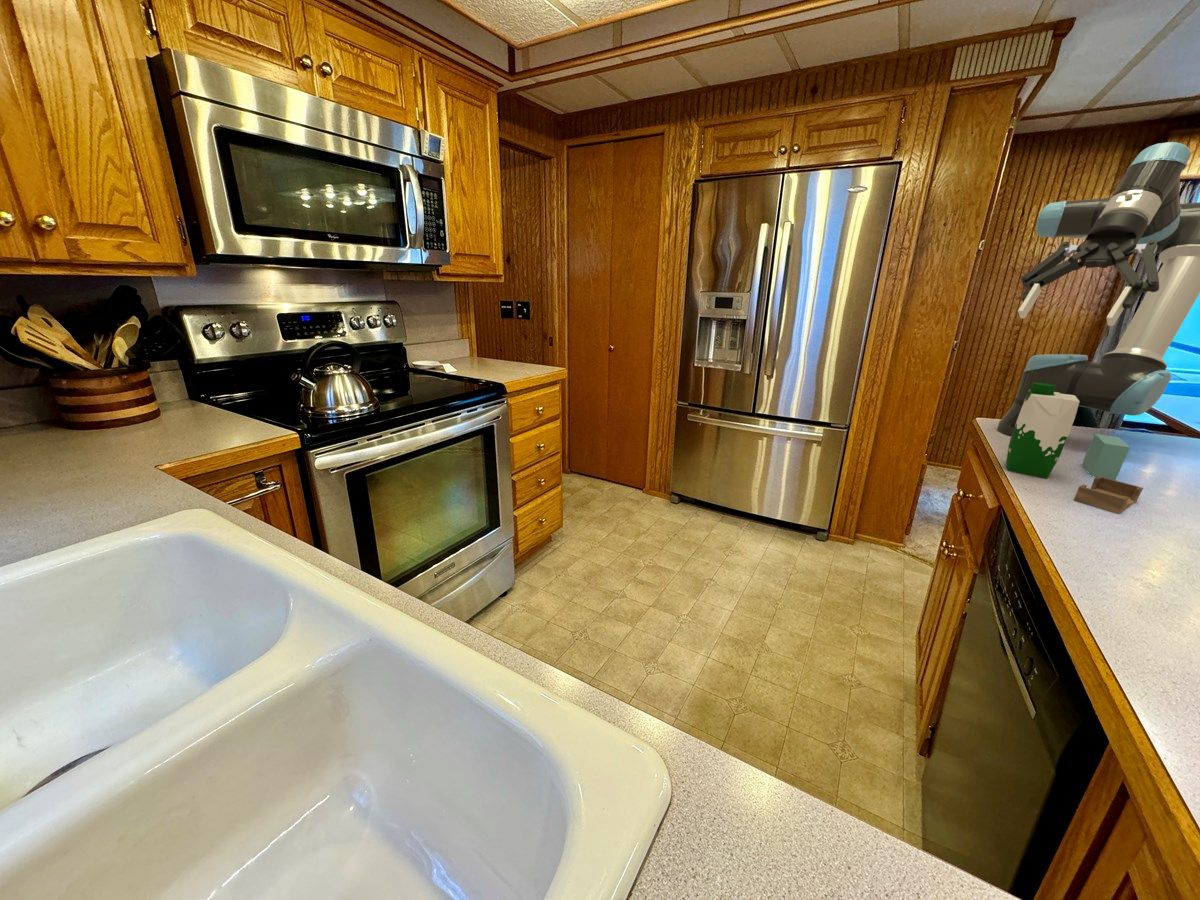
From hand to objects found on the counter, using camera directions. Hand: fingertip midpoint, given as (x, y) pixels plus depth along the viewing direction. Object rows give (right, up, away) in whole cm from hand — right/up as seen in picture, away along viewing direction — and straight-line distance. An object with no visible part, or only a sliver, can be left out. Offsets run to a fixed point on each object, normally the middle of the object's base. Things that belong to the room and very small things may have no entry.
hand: (1062, 318), depth 94 cm
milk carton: (+8, -31, +17) cm, 36 cm away
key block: (+25, -31, +18) cm, 44 cm away
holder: (+11, -36, +3) cm, 38 cm away
